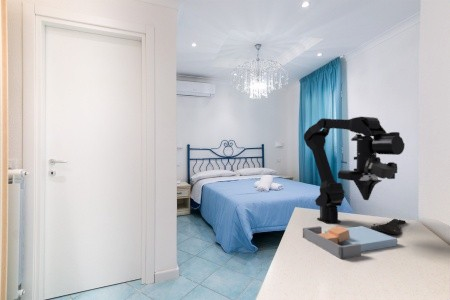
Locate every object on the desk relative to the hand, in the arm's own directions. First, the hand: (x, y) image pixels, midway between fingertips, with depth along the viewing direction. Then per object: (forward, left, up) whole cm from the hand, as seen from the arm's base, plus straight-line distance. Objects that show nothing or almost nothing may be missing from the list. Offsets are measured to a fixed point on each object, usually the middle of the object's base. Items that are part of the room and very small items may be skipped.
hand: (366, 200), depth 77 cm
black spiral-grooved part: (-3, +16, -13) cm, 20 cm away
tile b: (+3, -19, -11) cm, 22 cm away
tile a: (+4, -15, -10) cm, 18 cm away
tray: (+3, -18, -12) cm, 22 cm away
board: (+3, -7, -12) cm, 14 cm away
